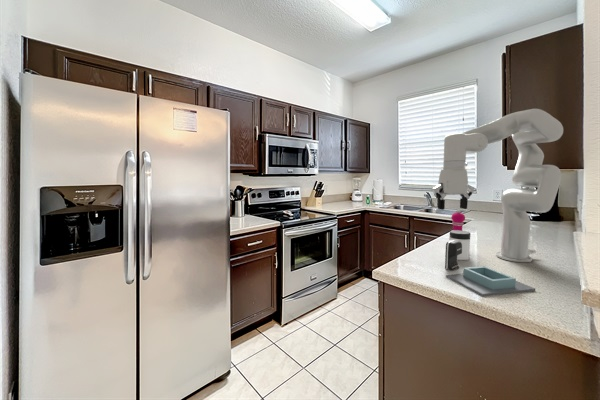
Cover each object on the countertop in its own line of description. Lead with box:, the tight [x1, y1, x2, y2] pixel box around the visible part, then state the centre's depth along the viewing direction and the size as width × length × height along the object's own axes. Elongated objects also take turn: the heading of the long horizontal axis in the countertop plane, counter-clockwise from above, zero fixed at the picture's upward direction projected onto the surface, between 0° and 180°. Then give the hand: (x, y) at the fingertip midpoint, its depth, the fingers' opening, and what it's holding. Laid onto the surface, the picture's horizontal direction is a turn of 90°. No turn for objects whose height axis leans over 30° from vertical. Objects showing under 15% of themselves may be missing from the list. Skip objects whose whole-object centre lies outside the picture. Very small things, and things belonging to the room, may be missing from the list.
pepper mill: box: [450, 209, 466, 231], centre depth 135 cm, size 7×7×20 cm
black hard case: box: [444, 240, 462, 271], centre depth 106 cm, size 7×4×11 cm, turn 125°
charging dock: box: [445, 265, 536, 297], centre depth 92 cm, size 20×16×4 cm
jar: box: [448, 229, 471, 261], centre depth 120 cm, size 9×8×12 cm
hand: (452, 208), depth 105 cm, fingers open, 9 cm apart
